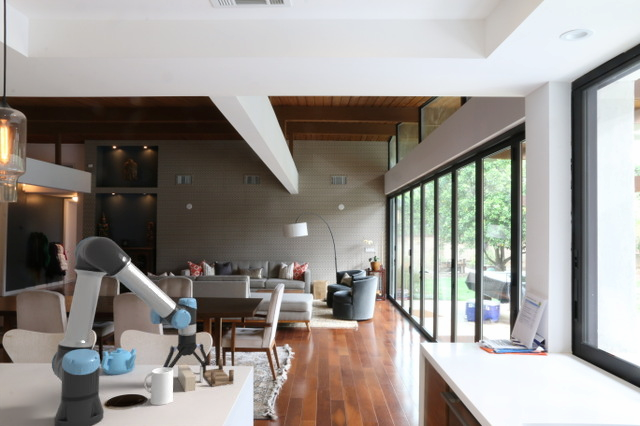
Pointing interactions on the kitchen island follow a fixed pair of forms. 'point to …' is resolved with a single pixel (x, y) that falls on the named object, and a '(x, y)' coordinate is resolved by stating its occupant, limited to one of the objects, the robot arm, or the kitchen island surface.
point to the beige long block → (186, 377)
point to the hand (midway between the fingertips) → (186, 383)
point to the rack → (219, 375)
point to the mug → (161, 386)
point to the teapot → (118, 361)
